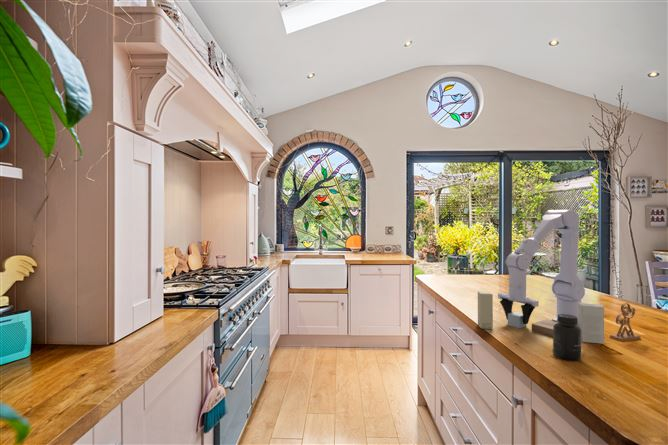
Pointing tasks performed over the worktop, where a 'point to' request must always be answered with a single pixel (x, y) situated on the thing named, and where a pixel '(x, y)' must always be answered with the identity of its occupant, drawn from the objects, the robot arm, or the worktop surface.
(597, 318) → the skincare box
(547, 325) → the walnut block
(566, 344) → the supplement bottle
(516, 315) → the slate cube
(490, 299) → the box
